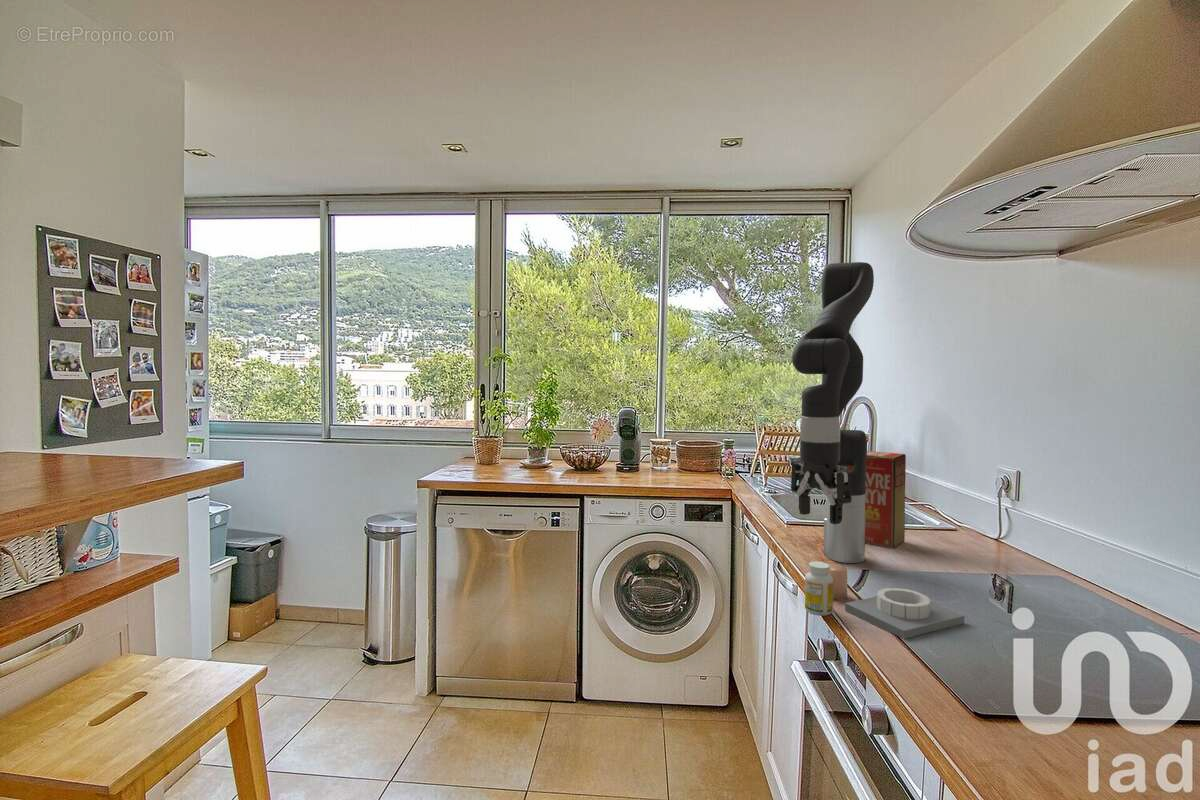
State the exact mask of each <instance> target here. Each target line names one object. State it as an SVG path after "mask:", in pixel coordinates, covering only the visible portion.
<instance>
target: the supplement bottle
mask: <svg viewBox="0 0 1200 800" xmlns="http://www.w3.org/2000/svg"><path fill="white" fill-rule="evenodd" d="M808 571H809V572H806V574H805V576H804V578H805V579H804V580H805V581H804V609H805V610H806V611H805V612H807V613H808V614H811V615H815V616H819V617H820V616H824V617H825V616H829V615H831V614H832V613H833V609H834V607H833V606H834V605H833V604H834V603H833V602H834V599H833V578H832V576H831V575H830V574H829V572H830V564H829V563H827V562H823V561H811V562H809V563H808Z"/></svg>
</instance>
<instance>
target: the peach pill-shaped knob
mask: <svg viewBox="0 0 1200 800" xmlns="http://www.w3.org/2000/svg"><path fill="white" fill-rule="evenodd" d="M829 565H830V572H829V574H830V575H831V576H832V578H833V600H834V599H839V600H838V601H841V599H842V600H846V599H847V598H848V568H847V567H845V566H843V565H839V564H831V563H830V564H829Z"/></svg>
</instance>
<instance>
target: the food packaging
mask: <svg viewBox="0 0 1200 800" xmlns="http://www.w3.org/2000/svg"><path fill="white" fill-rule="evenodd" d="M906 458H907V457H906V454H905V453H896V452H884V451H875V450H874V451H873V450H872V451H871V450H867V458H866V476H865V486H866V502H865V505H866V506H865V545H866V544H868V545H870V546H871V545H872V546H878V547H882V548H883V547H884V548H888V549H897V547H899V546H901V545H903V544H904V543H905V540H906V539H905V535H906V533H905V532H906V527H905V525H906V524H905V522H906V520H905V519H906V518H905V517H906V516H905V515H906V514H905V513H906V468H907V467H906V466H907V459H906ZM852 468H853V467H852V466H846V472H849V471H851V470H852Z"/></svg>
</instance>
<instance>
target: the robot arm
mask: <svg viewBox="0 0 1200 800" xmlns="http://www.w3.org/2000/svg"><path fill="white" fill-rule="evenodd" d="M874 282H875V280H874V269H873V266H872V265H871V264H870V263H868V262H862V261H855V262H833V263H827V264H825V266H824V267H823V270H822V274H821V285H820V286H821V305H822V310H821V311H820V313H819V314H818V316H817V318H816V321H815V322H814V325H813V327H812V328H811V329H809V330H808V331H807V332H805V334H804V335H802V337H801V338H800V339H798V341H797V342H796V344H795V345H794V347H793V351H792V353H791V354H792V355H791V361H792V365H793V368H795V370H796V371H797V372H799V373H800V374H803V375H822V383H821V384H818V385H812V386H807V387H805V388H804V389H803V390H802V393H801V421H800V435H799V436H800V437H799V439H800V445H799V449H800V451H799V455H800V456H799V457H800V461H801V462H796V463H792V464H791V476H790V477H791V479H790V491H791V492H794V493H796V494H797V497H798V510H799V514H800V515H802V516H803V515H804V516H805V515H809V514H810V513H811V496H810V494H811V492H812V491H813V490H814V489H816V490H818V491H822V493H823V495H824V496H826V517H825V518H824V519H823V555H824V556H826V557H827V559H829V560H832V561H835V562H839V563H845V564H857V563H862V562H864V561H865V560H866V543H865V506H866V505H865V502H866V486H865V476H866V458H867V451H868V438H867V434H866V433H865V432H864V430H860V429H841V424H840V423H841V422H840V416H841V415H842V412H843V411H844V409H845V408H846V406H847V405H848V404H849V403H850V401H852V399H853V398H854V397H855V395H856V394H857V392H859V389H860V388H861V386H862V383H863V381H864V380H863V379H864V355H863V352H862V349H861V348H860V346H859V345H858V343H857V342H856V339H854V337H853V336H852V334H851V333H850V330H851V328H852V325H853V322H854V321H855V320H856V318H857V317H858V315H859V314H860V312H861V311H862V310H863V309H864V307H865V306H866V305H867V302H869V299H870V297H872V293H873V289H874ZM837 466H839V467H840V466H841V467H844V466H845V467H847V466H852V467H853V468H852V470H851V471H849V472H847V471H843V472H842V471H841V472H840V471H838V467H837ZM797 483H798V484H797Z"/></svg>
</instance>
